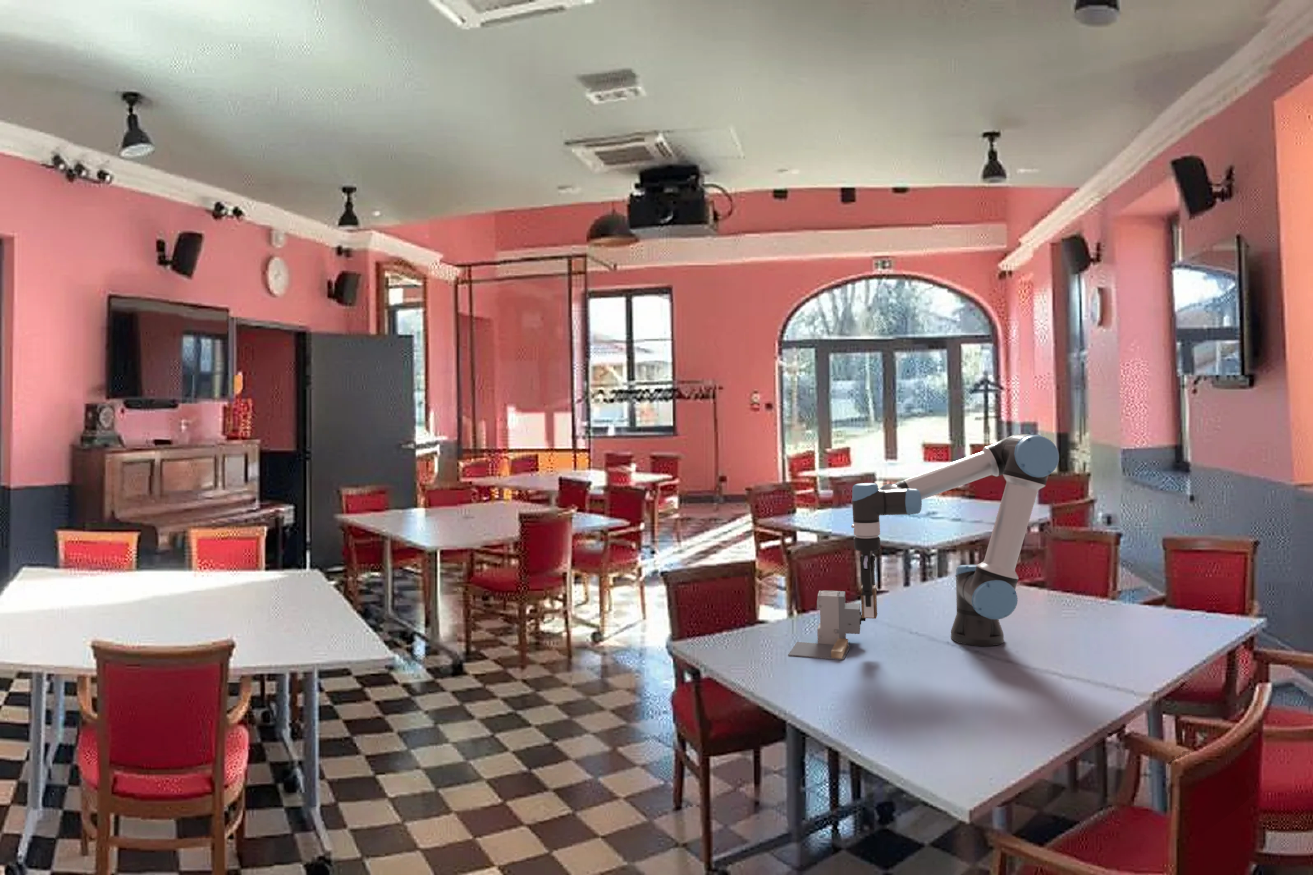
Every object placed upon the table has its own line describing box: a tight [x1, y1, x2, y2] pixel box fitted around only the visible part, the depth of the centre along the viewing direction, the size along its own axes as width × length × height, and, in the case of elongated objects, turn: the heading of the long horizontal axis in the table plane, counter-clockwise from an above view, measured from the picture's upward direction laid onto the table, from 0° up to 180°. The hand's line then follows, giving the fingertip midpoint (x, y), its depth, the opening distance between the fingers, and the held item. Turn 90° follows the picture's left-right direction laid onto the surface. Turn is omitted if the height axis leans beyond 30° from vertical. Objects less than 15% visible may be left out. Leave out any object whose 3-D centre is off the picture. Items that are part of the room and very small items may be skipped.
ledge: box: [831, 638, 849, 659], centre depth 248 cm, size 3×14×2 cm, turn 160°
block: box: [860, 584, 878, 620], centre depth 248 cm, size 4×4×9 cm
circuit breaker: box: [816, 590, 867, 645], centre depth 259 cm, size 8×14×15 cm, turn 75°
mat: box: [787, 641, 851, 661], centre depth 250 cm, size 16×14×1 cm
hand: (870, 615), depth 248 cm, fingers closed on block, 4 cm apart
